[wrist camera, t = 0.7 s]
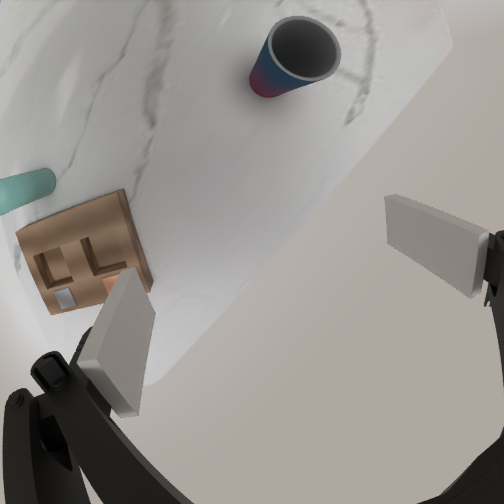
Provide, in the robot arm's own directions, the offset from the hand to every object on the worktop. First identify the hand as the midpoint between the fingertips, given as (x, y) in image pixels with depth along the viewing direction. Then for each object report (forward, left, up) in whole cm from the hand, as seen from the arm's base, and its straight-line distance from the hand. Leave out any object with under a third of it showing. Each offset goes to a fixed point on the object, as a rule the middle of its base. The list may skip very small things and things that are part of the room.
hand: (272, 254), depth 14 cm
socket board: (+4, -23, -26) cm, 35 cm away
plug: (-8, -26, -26) cm, 37 cm away
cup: (-13, +8, -26) cm, 31 cm away
